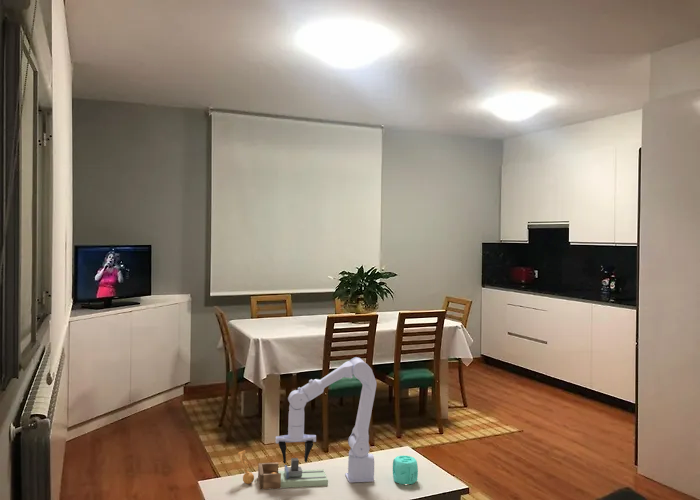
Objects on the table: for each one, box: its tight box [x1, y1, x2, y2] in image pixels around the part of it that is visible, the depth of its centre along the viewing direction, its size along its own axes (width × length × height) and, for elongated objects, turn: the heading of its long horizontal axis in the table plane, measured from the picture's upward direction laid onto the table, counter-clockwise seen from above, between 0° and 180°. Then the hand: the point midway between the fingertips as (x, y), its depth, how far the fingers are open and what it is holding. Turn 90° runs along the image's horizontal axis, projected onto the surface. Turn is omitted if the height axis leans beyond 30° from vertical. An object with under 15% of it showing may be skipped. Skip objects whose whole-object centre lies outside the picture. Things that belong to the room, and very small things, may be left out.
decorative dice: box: [392, 455, 419, 485], centre depth 217 cm, size 8×8×8 cm
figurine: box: [237, 449, 255, 485], centre depth 209 cm, size 8×6×12 cm
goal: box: [257, 461, 281, 491], centre depth 211 cm, size 7×11×5 cm, turn 12°
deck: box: [278, 468, 329, 489], centre depth 213 cm, size 17×10×2 cm, turn 102°
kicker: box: [283, 457, 303, 479], centre depth 213 cm, size 6×7×6 cm
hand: (295, 461), depth 213 cm, fingers open, 7 cm apart
